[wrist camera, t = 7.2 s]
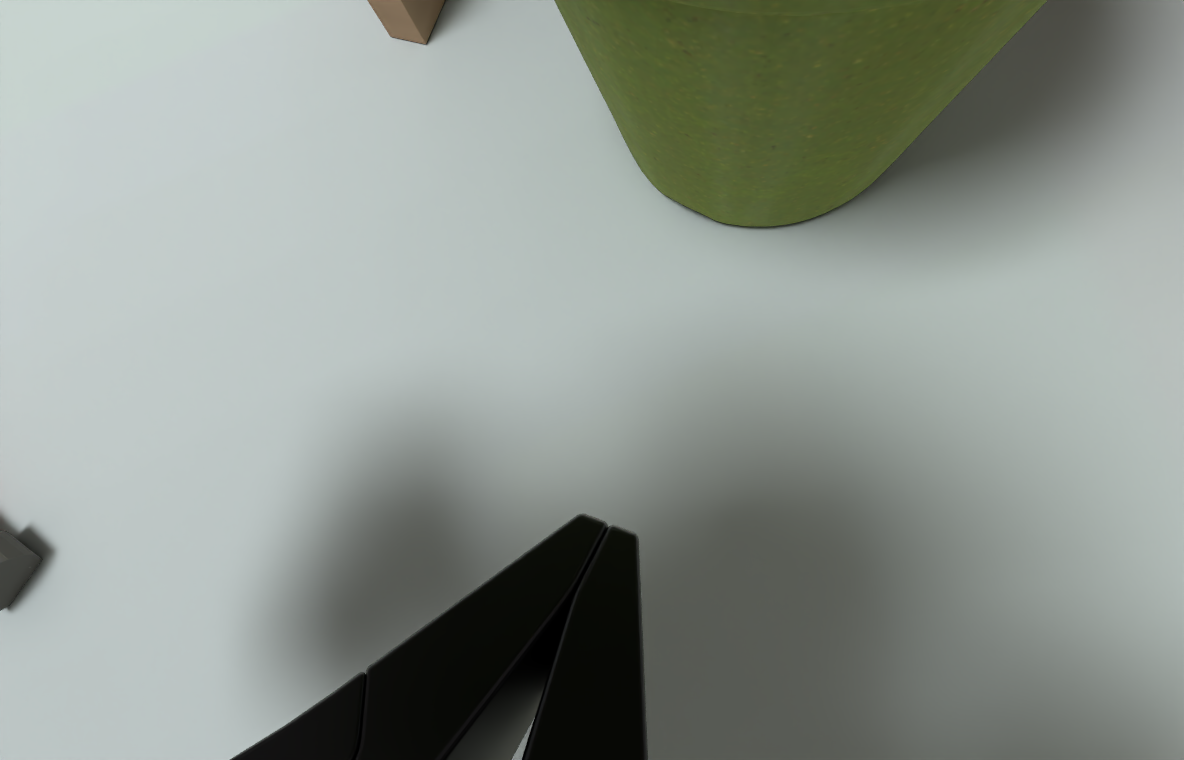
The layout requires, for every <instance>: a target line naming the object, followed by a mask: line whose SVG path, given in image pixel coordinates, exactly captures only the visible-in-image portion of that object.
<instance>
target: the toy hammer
mask: <svg viewBox="0 0 1184 760" xmlns="http://www.w3.org/2000/svg"><path fill="white" fill-rule="evenodd" d="M42 560H43V559H41V558H40V557H39V556H38V555H36V554H35V553H34V552H32V551H31V550H30V549H29V548H27V547H26V546H25V545H23V544H22V543H21V542H20V541H18V540H17V539H16V538H14V537H13V536H12V535H11V534H9V533H8V532H7V531H0V611H1V610H2V609H4V608H6V607H8V606H9V605H10V604H11V603H12V602H13V600H14V599H15V597H16V596H17V595H18V593H19V592H20V590H21V589H22V588H23V586H24V585H25V583H26V582H27V581H28V579H29V578H30V576H31V575H32V574H33V572H34V571H35V569H36V568H37V567H38V565H39V564H40V562H41V561H42Z"/></svg>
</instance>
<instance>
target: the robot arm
mask: <svg viewBox="0 0 1184 760" xmlns="http://www.w3.org/2000/svg"><path fill="white" fill-rule="evenodd" d="M534 717H535V719H534ZM533 719H534V722H533V725H532V728H531V732H530V735H529V738H528V741H527V744H526V748H525V751H524V754H523V757H522V760H648V751H647V727H646V703H645V679H644V655H643V631H642V607H641V583H640V559H639V539H638V536H637V534H635V533H634V532H631V531H628V530H626V529H623V528H621V527H618V526H615V525H611V526H610V527H608V524H607V523H606V522H605V521H602V520H600V519H597V518H594V517H592V516H589V515H587V514H579V515H577V516H576V517H574V518H573V519H572V520H570V521H569V522H567V523H566V524H565V525H563V526H562V527H561V528H559V529H558V530H556V531H555V532H554V533H552V534H551V535H549V536H548V537H547V538H545V539H544V540H543V541H541V542H540V543H538V544H537V545H536V546H534V547H533V548H532V549H530V550H529V551H527V552H526V553H525V554H523V555H522V556H521V557H519V558H518V559H516V560H515V561H514V562H512V563H511V564H510V565H508V566H507V567H505V568H504V569H503V570H501V571H500V572H499V573H497V574H496V575H494V576H493V577H492V578H490V579H489V580H487V581H486V582H485V583H483V584H482V585H481V586H479V587H478V588H476V589H475V590H474V591H472V592H471V593H470V594H468V595H467V596H465V597H464V598H463V599H461V600H460V601H459V602H457V603H456V604H454V605H453V606H452V607H450V608H449V609H448V610H446V611H445V612H443V613H442V614H441V615H439V616H438V617H437V618H435V619H434V620H432V621H431V622H430V623H428V624H427V625H425V626H424V627H423V628H421V629H420V630H419V631H417V632H416V633H414V634H413V635H412V636H410V637H409V638H408V639H406V640H405V641H403V642H402V643H401V644H399V645H398V646H397V647H395V648H394V649H392V650H391V651H390V652H388V653H387V654H386V655H384V656H383V657H381V658H380V659H379V660H377V661H376V662H375V663H373V664H372V665H370V666H369V667H368V668H367V671H366V674H365V673H364V672H361V673H359V674H357V675H356V676H355V677H353V678H352V679H351V680H349V681H348V682H347V683H345V684H344V685H342V686H341V687H340V688H338V689H337V690H336V691H334V692H333V693H331V694H330V695H329V696H327V697H326V698H324V699H323V700H321V701H320V702H318V703H317V704H315V705H314V706H313V707H311V708H310V709H308V710H307V711H305V712H304V713H302V714H301V715H299V716H298V717H297V718H295V719H294V720H292V721H291V722H289V723H288V724H286V725H285V726H283V727H282V728H280V729H278V730H277V731H275V732H274V733H272V734H270V735H269V736H267V737H266V738H264V739H262V740H261V741H259V742H257V743H256V744H254V745H253V746H251V747H249V748H248V749H246V750H245V751H243V752H241V753H240V754H238V755H236V756H235V757H233V758H232V759H230V760H511V759H512V758H513V756H514V754H515V752H516V750H517V748H518V747H519V745H520V743H521V741H522V739H523V737H524V735H525V734H526V732H527V730H528V728H529V726H530V724H531V723H532V721H533Z"/></svg>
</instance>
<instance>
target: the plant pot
mask: <svg viewBox="0 0 1184 760" xmlns="http://www.w3.org/2000/svg"><path fill="white" fill-rule="evenodd" d="M1046 1H1047V0H555V2H556V4H557V6H558V8H559V10H560V12H561V14H562V16H563V18H564V20H565V22H566V24H567V26H568V28H569V30H570V32H571V34H572V36H573V38H574V40H575V42H576V44H577V46H578V48H579V50H580V52H581V54H582V56H583V58H584V60H585V62H586V64H587V66H588V68H589V70H590V72H591V74H592V76H593V78H594V80H595V82H596V84H597V86H598V88H599V90H600V92H601V94H602V96H603V98H604V99H605V101H606V103H607V105H608V107H609V109H610V111H611V113H612V115H613V117H614V119H615V121H616V123H617V126H618V128H619V130H620V132H621V134H622V136H623V138H624V140H625V142H626V144H627V146H628V148H629V150H630V152H631V153H632V155H633V157H634V159H635V160H636V162H637V164H638V165H639V167H640V169H641V170H642V172H643V173H644V174H645V176H646V177H647V178H648V179H649V181H650V182H651V183H652V184H653V185H654V186H655V187H656V188H657V189H658V190H659V191H660V192H661V193H663V194H664V195H666V196H667V197H669V198H671V199H673V200H675V201H677V202H678V203H680V204H682V205H684V206H686V207H688V208H691V209H693V210H695V211H697V212H699V213H701V214H703V215H705V216H707V217H709V218H711V219H713V220H715V221H719V222H722V223H726V224H733V225H740V226H778V225H786V224H791V223H796V222H800V221H804V220H807V219H811V218H814V217H816V216H819V215H821V214H824V213H826V212H828V211H830V210H832V209H834V208H836V207H838V206H840V205H842V204H844V203H846V202H848V201H849V200H851V199H852V198H854V197H855V196H857V195H858V194H859V193H861V192H862V191H863V190H865V189H866V188H867V187H868V186H869V185H871V184H872V183H873V182H874V181H875V180H876V179H877V178H878V177H879V176H880V175H881V174H882V173H883V172H884V171H885V170H886V169H887V168H888V167H889V166H890V165H891V164H892V163H893V162H894V161H895V160H896V159H897V158H898V157H899V156H900V155H901V154H902V153H903V152H904V151H905V149H906V148H907V147H908V146H909V145H910V144H911V143H912V142H913V141H914V140H915V139H916V138H917V137H918V136H919V135H920V134H921V132H922V131H923V130H924V129H925V128H926V127H927V126H928V125H929V124H930V123H931V122H932V121H933V120H934V119H935V118H936V117H937V116H938V115H939V113H940V112H941V111H942V110H943V109H944V108H945V107H946V106H947V105H948V104H949V103H950V102H951V101H952V100H953V99H954V98H955V97H956V96H957V95H958V94H959V93H960V91H961V90H962V89H963V88H964V87H965V86H966V85H967V84H968V83H969V82H970V81H971V80H972V79H973V78H974V77H975V76H976V75H977V74H978V73H979V72H980V71H981V69H982V68H983V67H984V66H985V65H986V64H987V63H988V62H989V61H990V60H991V59H992V58H993V57H994V56H995V55H996V54H997V53H998V52H999V51H1000V50H1001V49H1002V47H1003V46H1004V45H1005V44H1006V43H1007V42H1008V41H1009V40H1010V39H1011V38H1012V37H1013V36H1014V35H1015V34H1016V33H1017V32H1018V31H1019V30H1020V29H1021V28H1022V27H1023V25H1024V24H1025V23H1026V22H1027V21H1028V20H1029V19H1030V18H1031V17H1032V16H1033V15H1034V14H1035V13H1036V12H1037V11H1038V10H1039V9H1040V8H1041V7H1042V6H1043V5H1044V3H1045V2H1046Z"/></svg>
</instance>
